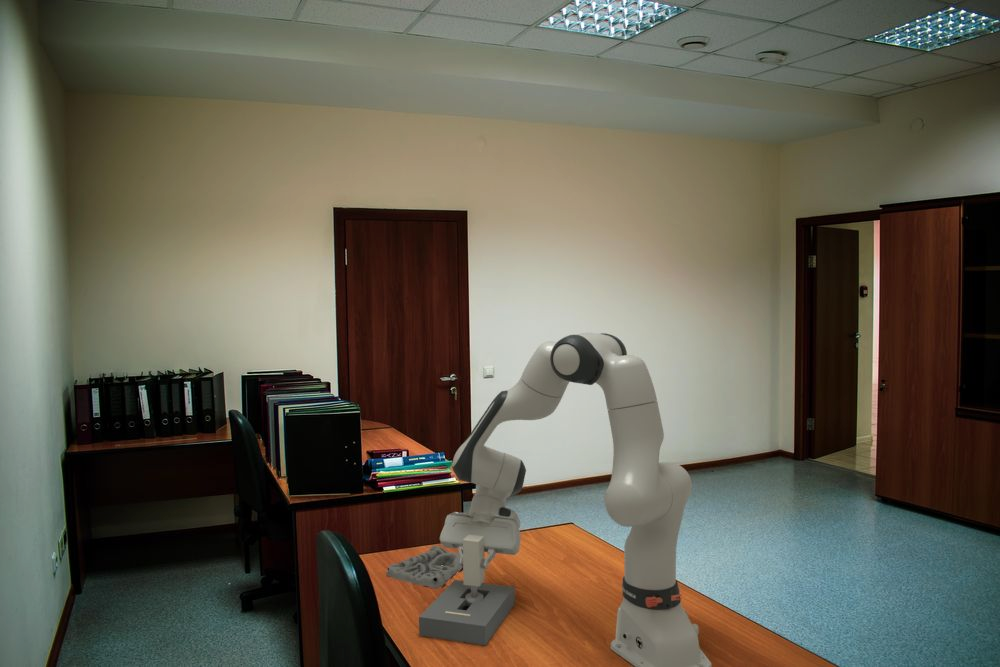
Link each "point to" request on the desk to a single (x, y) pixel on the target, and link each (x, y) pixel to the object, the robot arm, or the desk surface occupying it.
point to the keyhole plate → (467, 613)
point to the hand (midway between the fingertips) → (473, 566)
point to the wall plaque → (427, 568)
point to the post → (473, 566)
